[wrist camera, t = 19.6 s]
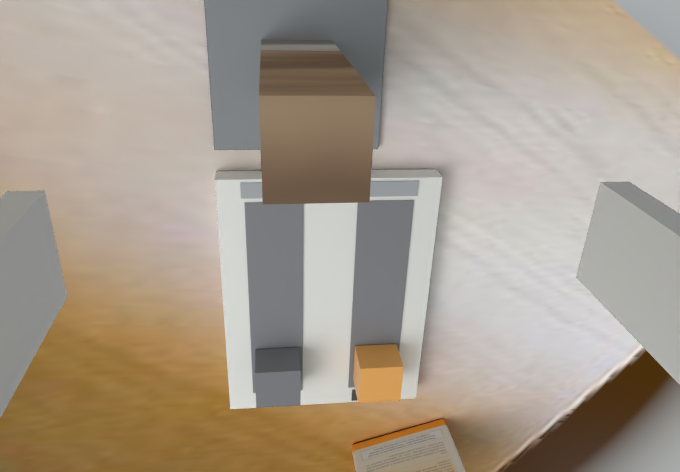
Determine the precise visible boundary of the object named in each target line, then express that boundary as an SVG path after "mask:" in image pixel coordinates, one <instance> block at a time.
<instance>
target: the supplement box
mask: <svg viewBox="0 0 680 472" xmlns="http://www.w3.org/2000/svg"><path fill="white" fill-rule="evenodd" d="M352 453H353V458H354V463H355V468H356V472H466V470H465V468H464V465H463V463H462V460H461V458H460V455H459V453H458V451H457V448H456V446H455V443H454V441H453V438H452V436H451V434H450V431H449V429H448V427H447V424H446V422H445V420H444V419H440V420H436V421H433V422H430V423H426V424H423V425H419V426H416V427H412V428H409V429H406V430H402V431H399V432H395V433H392V434H388V435H385V436H381V437H378V438H374V439H370V440H367V441H364V442H360V443H357V444H353V445H352Z"/></svg>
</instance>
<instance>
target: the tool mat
mask: <svg viewBox="0 0 680 472" xmlns="http://www.w3.org/2000/svg"><path fill="white" fill-rule="evenodd" d="M204 4H205V19H206V34H207V49H208V63H209V78H210V93H211V108H212V122H213V137H214V150H261V139H260V110H259V82H260V55H261V39H281V40H333V42H334V43H335V44H336V46H337V47H338V48H339V49H340V51H341V52H342V53H343V55H344V56H345V57H346V58H347V60H348V61H349V62H350V64H351V65H352V66H353V67H354V69H355V70H356V71H357V73H358V74H359V75H360V76H361V78H362V79H363V80H364V82H365V83H366V84H367V85H368V87H369V88H370V89H371V91H372V92H373V93H374V94H375V96H376V99H375V116H374V134H373V149H378V141H379V126H380V111H381V96H382V81H383V65H384V50H385V35H386V20H387V5H388V0H204Z"/></svg>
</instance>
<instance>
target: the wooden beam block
mask: <svg viewBox="0 0 680 472" xmlns="http://www.w3.org/2000/svg"><path fill="white" fill-rule="evenodd" d="M375 99H376V96H375V94H374V93H373V92H372V91H371V89H370V88H369V87H368V85H367V84H366V83H365V82H364V80H363V79H362V78H361V76H360V75H359V74H358V73H357V71H356V70H355V69H354V67H353V66H352V65H351V64H350V62H349V61H348V60H347V58H346V57H345V56H344V55H343V53H342V52H341V51H340V49H339V48H338V47H337V46H336V44H335V43H334V42H333V40H281V39H261V55H260V82H259V110H260V139H261V169H262V199H263V204H313V203H364V202H370V186H371V168H372V151H373V134H374V116H375Z"/></svg>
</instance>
